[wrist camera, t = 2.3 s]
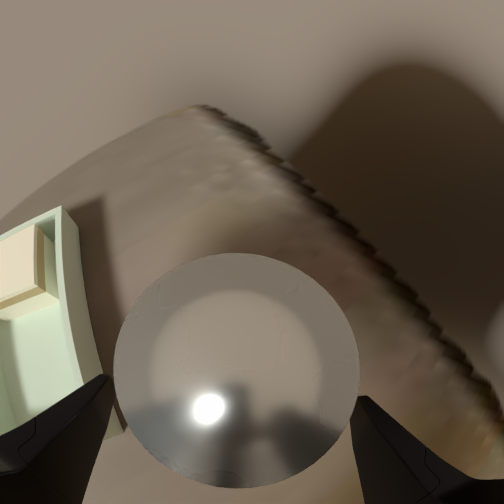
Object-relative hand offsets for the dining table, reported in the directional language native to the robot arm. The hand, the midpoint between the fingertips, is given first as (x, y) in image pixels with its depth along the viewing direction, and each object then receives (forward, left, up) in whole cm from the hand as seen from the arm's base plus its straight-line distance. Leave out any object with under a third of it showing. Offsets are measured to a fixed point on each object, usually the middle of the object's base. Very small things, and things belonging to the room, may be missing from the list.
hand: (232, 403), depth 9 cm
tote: (+14, +8, -9) cm, 18 cm away
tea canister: (+1, -1, -9) cm, 9 cm away
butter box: (+18, +6, -8) cm, 21 cm away
